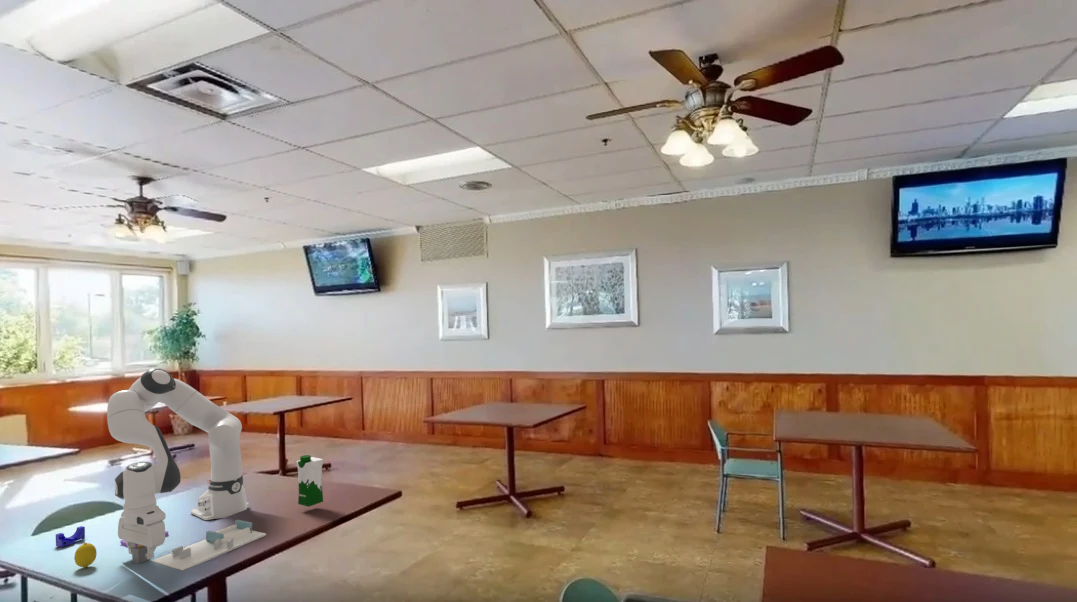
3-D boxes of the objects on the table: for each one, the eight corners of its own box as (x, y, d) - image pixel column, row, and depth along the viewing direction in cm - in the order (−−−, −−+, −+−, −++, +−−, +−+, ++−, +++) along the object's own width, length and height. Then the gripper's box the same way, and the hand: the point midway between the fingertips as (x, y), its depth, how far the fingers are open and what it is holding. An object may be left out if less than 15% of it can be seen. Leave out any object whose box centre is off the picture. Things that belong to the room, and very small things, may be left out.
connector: (132, 563, 183) (131, 543, 183) (143, 558, 186) (143, 539, 186) (138, 564, 182) (138, 545, 182) (150, 560, 185) (149, 541, 185)
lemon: (82, 564, 183) (82, 539, 183) (100, 563, 183) (100, 538, 183) (70, 572, 177) (69, 547, 177) (88, 571, 178) (88, 546, 178)
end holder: (206, 541, 198) (206, 531, 198) (237, 528, 208) (237, 519, 208) (221, 545, 194) (220, 535, 194) (252, 532, 205) (252, 522, 205)
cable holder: (61, 547, 198) (61, 535, 198) (55, 545, 199) (55, 534, 199) (87, 538, 205) (87, 527, 205) (81, 537, 206) (81, 526, 206)
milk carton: (294, 504, 235) (293, 456, 235) (313, 497, 242) (312, 451, 242) (308, 508, 230) (307, 459, 230) (326, 501, 238) (325, 453, 238)
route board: (151, 562, 183) (151, 553, 183) (236, 528, 210) (236, 520, 210) (182, 571, 176) (182, 561, 176) (266, 535, 203) (265, 526, 203)
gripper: (111, 512, 186) (112, 554, 186) (148, 521, 177) (149, 565, 177) (132, 506, 192) (133, 546, 191) (168, 514, 183) (169, 557, 182)
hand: (141, 555), depth 184 cm, fingers open, 8 cm apart
